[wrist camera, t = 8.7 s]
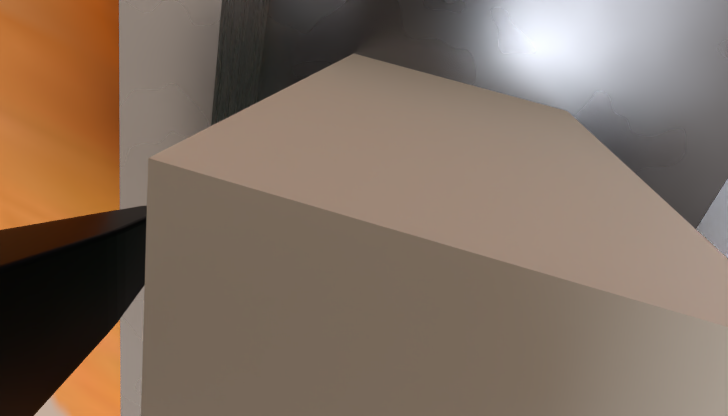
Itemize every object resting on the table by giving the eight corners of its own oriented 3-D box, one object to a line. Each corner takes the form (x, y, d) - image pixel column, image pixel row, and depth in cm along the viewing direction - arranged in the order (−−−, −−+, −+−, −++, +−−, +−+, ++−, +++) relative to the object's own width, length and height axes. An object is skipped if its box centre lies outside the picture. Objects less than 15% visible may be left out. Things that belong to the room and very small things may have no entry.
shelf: (1148, -567, 6) (1732, -1046, 3) (523, 478, 16) (538, 581, 13) (226, -719, 7) (72, -1214, 4) (166, 366, 17) (108, 440, 14)
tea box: (567, 111, 10) (836, 360, 3) (466, 344, 13) (485, 745, 6) (348, 51, 11) (131, 153, 3) (298, 293, 14) (126, 617, 6)
